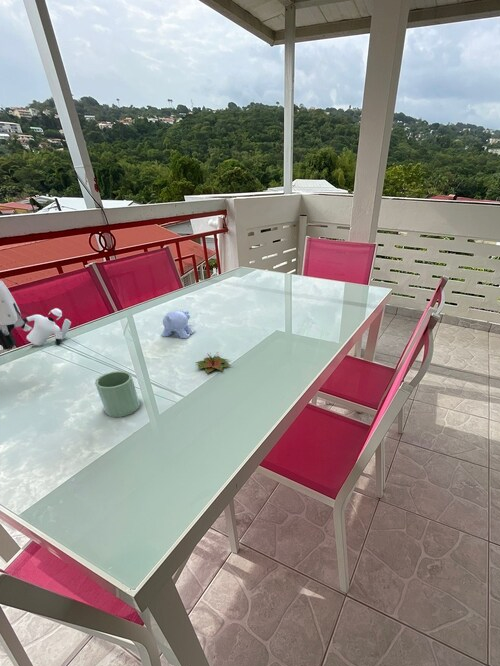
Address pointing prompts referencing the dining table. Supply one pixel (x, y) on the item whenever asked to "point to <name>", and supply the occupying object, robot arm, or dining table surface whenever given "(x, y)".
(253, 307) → the dining table surface
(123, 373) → the green hollow cylinder
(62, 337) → the cricket player figurine
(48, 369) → the dining table surface
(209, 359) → the lily flower
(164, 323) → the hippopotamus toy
